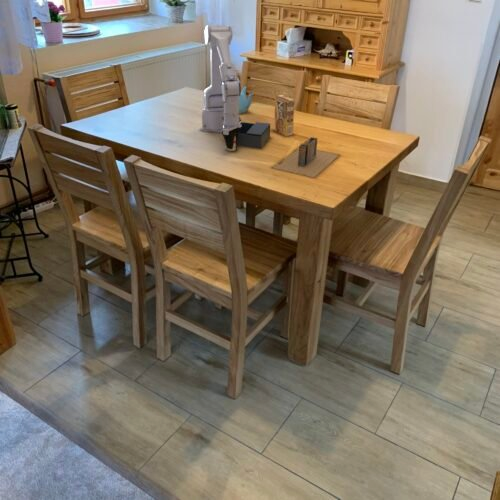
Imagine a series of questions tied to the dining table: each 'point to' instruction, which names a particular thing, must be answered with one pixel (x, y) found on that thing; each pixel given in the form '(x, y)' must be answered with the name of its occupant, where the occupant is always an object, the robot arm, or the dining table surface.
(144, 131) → the dining table surface
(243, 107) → the teapot
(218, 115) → the robot arm
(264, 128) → the carton
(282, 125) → the candy box
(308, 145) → the architectural model on board
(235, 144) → the red-banded cylinder
